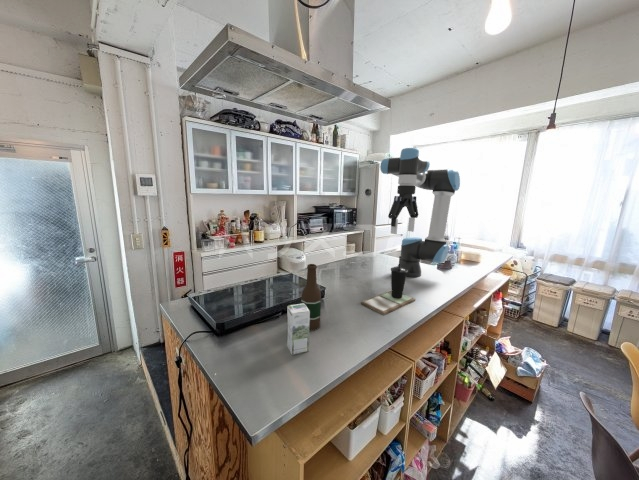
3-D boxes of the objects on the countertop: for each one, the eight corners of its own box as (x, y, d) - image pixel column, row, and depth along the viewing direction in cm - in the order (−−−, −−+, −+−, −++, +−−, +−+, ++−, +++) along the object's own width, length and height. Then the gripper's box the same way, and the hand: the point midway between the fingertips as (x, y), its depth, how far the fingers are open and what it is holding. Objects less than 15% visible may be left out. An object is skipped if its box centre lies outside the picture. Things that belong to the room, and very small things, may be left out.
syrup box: (303, 342, 85) (303, 302, 82) (309, 352, 80) (310, 309, 77) (286, 345, 83) (286, 304, 80) (291, 356, 78) (292, 312, 75)
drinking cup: (401, 301, 116) (405, 259, 112) (386, 296, 121) (389, 256, 117) (407, 296, 122) (411, 256, 118) (392, 292, 127) (395, 253, 123)
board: (392, 292, 130) (392, 289, 130) (415, 300, 120) (415, 298, 120) (361, 303, 115) (361, 301, 115) (384, 315, 106) (384, 312, 105)
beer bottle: (298, 322, 98) (298, 262, 93) (316, 319, 101) (318, 261, 96) (303, 332, 91) (304, 268, 86) (323, 329, 93) (325, 267, 89)
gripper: (414, 186, 122) (410, 229, 126) (382, 184, 107) (378, 233, 111) (429, 186, 116) (424, 231, 120) (397, 184, 101) (393, 236, 105)
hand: (402, 232), depth 115 cm, fingers open, 13 cm apart
